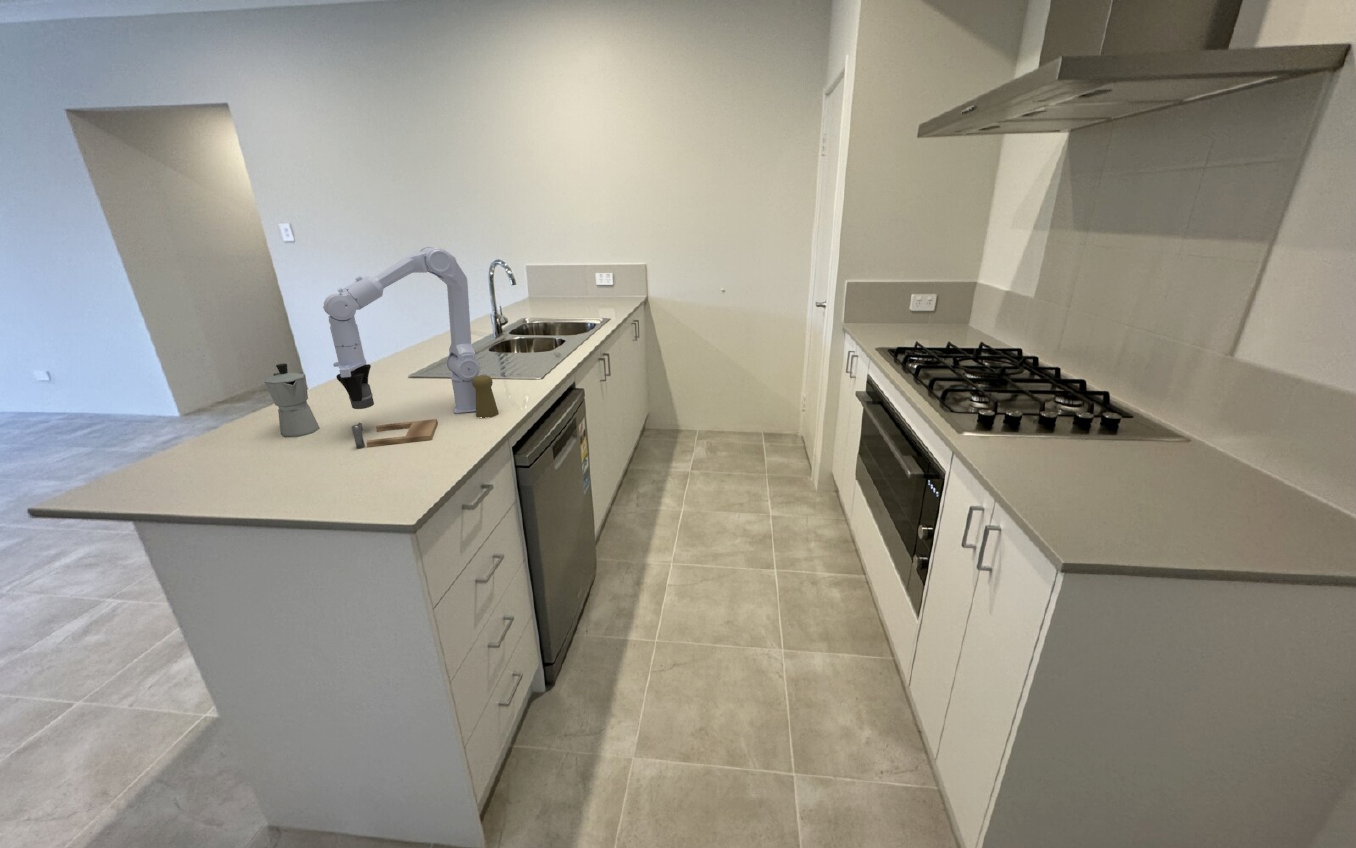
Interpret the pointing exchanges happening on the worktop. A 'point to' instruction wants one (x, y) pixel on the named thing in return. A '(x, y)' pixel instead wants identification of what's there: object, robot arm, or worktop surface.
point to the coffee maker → (291, 402)
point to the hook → (358, 435)
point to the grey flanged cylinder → (364, 398)
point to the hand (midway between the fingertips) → (360, 397)
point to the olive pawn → (484, 397)
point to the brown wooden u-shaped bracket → (415, 433)
